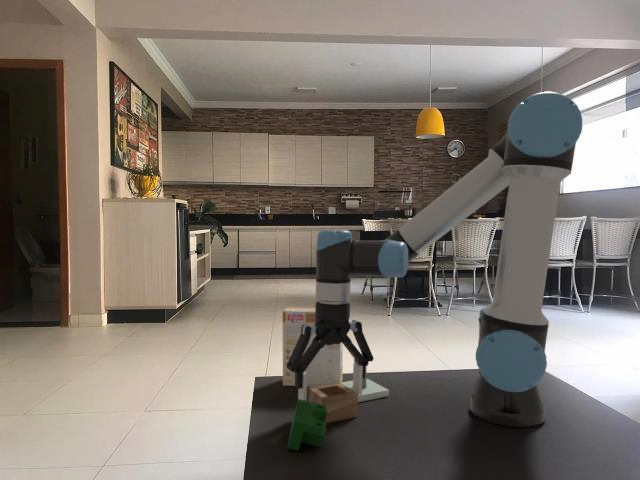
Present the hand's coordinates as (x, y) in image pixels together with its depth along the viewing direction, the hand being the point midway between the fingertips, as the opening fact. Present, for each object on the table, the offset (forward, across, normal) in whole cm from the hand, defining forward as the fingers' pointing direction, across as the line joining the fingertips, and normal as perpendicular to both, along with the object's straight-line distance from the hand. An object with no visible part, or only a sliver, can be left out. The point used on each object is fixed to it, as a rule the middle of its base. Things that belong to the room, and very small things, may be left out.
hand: (330, 398), depth 102 cm
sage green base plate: (+3, -12, -8) cm, 15 cm away
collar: (+3, 0, 0) cm, 3 cm away
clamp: (+4, +10, +9) cm, 14 cm away
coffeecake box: (+4, -5, -20) cm, 21 cm away
